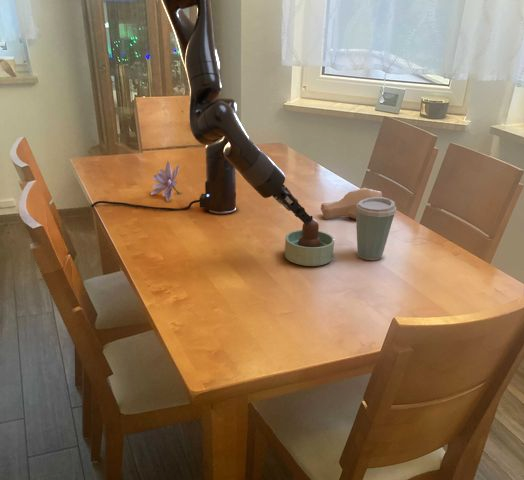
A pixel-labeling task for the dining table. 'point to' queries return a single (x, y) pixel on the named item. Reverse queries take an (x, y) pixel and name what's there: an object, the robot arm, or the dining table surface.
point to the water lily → (165, 181)
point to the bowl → (309, 249)
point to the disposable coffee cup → (373, 226)
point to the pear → (310, 235)
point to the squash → (348, 203)
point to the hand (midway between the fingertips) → (303, 216)
